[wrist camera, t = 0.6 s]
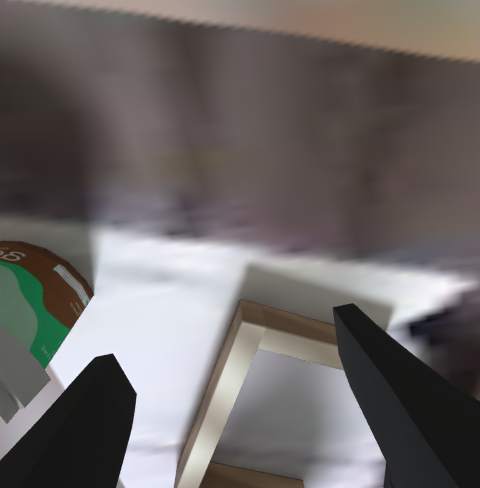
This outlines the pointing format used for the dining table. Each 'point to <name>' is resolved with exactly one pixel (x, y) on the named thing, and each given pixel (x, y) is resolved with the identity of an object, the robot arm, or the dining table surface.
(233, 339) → the frame
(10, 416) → the food container
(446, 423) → the robot arm
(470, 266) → the dining table surface
